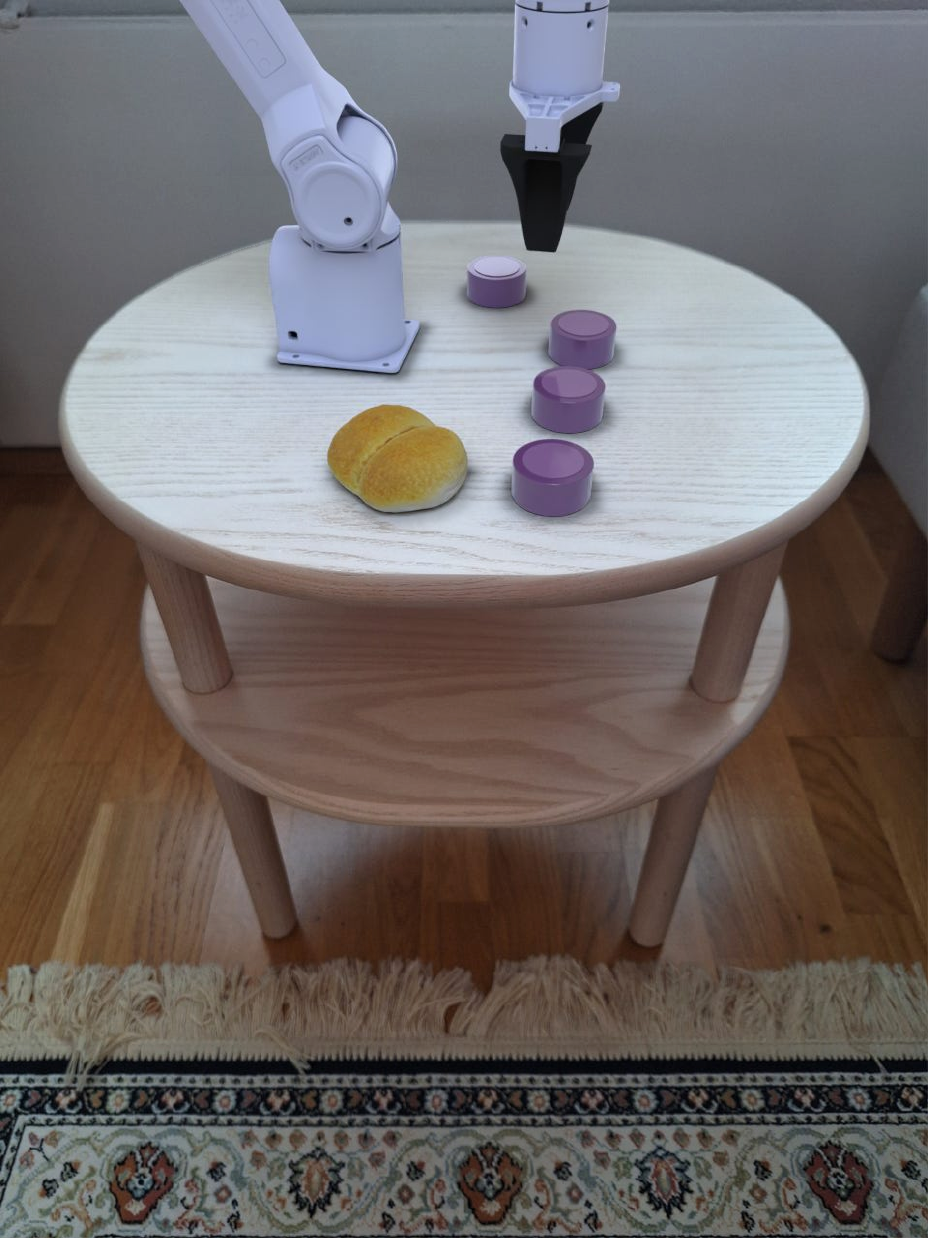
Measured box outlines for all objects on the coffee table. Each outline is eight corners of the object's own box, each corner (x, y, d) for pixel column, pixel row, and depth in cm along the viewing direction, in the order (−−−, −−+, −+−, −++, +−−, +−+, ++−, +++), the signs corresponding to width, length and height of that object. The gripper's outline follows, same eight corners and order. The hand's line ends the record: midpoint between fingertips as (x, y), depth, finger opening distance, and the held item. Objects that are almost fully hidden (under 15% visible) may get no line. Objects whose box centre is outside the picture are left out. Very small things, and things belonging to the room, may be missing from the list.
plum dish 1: (544, 366, 72) (546, 335, 70) (552, 335, 75) (554, 305, 74) (610, 372, 71) (614, 341, 69) (615, 341, 75) (619, 311, 73)
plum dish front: (505, 511, 59) (506, 478, 57) (517, 466, 62) (518, 433, 60) (586, 520, 58) (590, 487, 56) (593, 474, 61) (597, 441, 60)
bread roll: (399, 535, 57) (395, 480, 54) (310, 472, 62) (303, 419, 59) (497, 480, 61) (498, 426, 58) (407, 425, 66) (404, 373, 63)
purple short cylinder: (461, 305, 79) (461, 276, 78) (472, 280, 83) (472, 252, 81) (521, 310, 79) (522, 281, 77) (529, 284, 82) (530, 256, 80)
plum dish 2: (526, 429, 65) (528, 397, 64) (536, 392, 69) (537, 361, 67) (599, 436, 65) (602, 404, 63) (605, 399, 68) (608, 368, 67)
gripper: (619, 33, 52) (596, 274, 61) (634, -19, 62) (612, 194, 72) (493, 28, 53) (488, 266, 62) (528, -23, 63) (520, 188, 73)
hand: (548, 227), depth 67 cm, fingers open, 7 cm apart
